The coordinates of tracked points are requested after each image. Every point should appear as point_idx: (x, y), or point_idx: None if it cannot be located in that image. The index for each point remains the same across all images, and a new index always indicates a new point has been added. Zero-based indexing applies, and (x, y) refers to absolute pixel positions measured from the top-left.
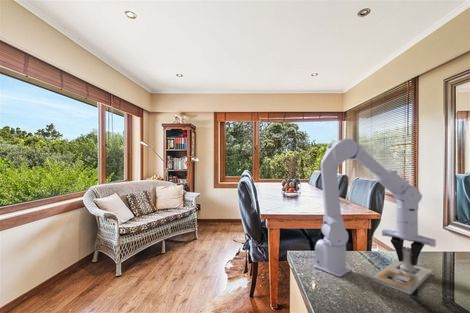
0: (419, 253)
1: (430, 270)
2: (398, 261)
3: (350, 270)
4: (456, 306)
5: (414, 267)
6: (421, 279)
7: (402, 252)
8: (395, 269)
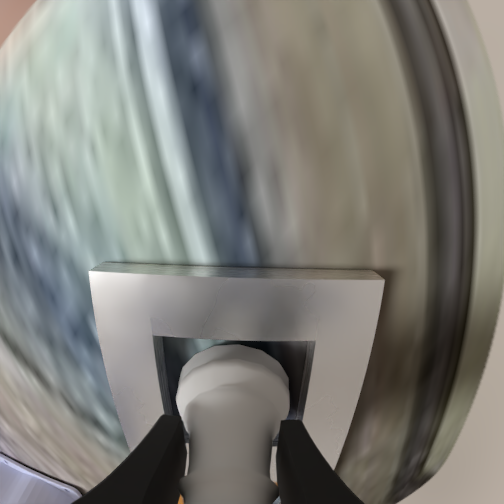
0: (353, 498)
1: (381, 296)
2: (116, 292)
3: (81, 496)
4: (420, 483)
5: (278, 390)
6: (334, 468)
7: (160, 479)
8: None
